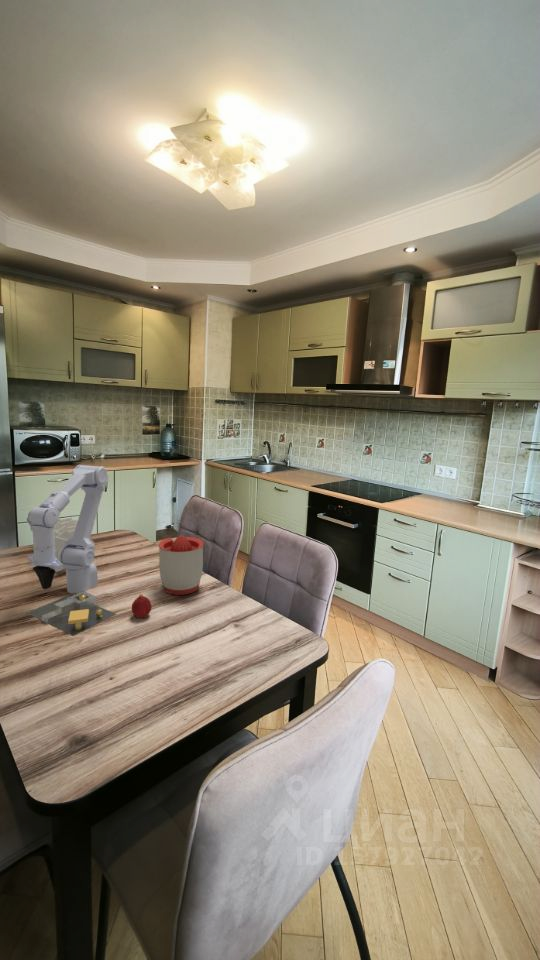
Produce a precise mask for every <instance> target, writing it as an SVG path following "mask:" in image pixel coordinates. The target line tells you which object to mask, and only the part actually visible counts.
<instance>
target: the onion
mask: <svg viewBox="0 0 540 960" xmlns="http://www.w3.org/2000/svg"><path fill="white" fill-rule="evenodd" d="M152 607H153V606H152V601H150V598H149V597H147V596H145V595H143V593H140V594H139V596H138V597H136V598H135V600H133V602H132V604H131V612H132V614H133V615H134V616H135V617H137V618H138V619H144V618H145V617H147V616H148V615H150V612H151V610H152Z"/></svg>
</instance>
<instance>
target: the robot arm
mask: <svg viewBox="0 0 540 960" xmlns="http://www.w3.org/2000/svg"><path fill="white" fill-rule="evenodd" d="M108 478H109V475H108V471H107V469H106V468H105V466H102V465H101V466H96V465H85V464H84V465H83V464H78V465H76V466H75V468H73V469H72V472H71V477H70V478H69V479H68V480H67V482H66V483H65V484H64V485H63V486H62V488H61V489H60V490H55V491H52V492H51V493H50V495H49V496H48V497H47V498H46V499H45V500H44V501H42V503H41V504H40V505H39V506H35V507H33V508H32V509H29V511H28V515H27V517H26V522H27V524H28V525H29V526H30V531H31V532H32V542H33V554H29V555H28V556H27V558H28V562H30V565H31V566H33V567H32V570H33V572H34V573H35V574H36V576H37V578H38V581H39V583H40V586H41V588H42V589H43V590H48V589H50V588H52V586H53V585H52V584H53V580H54V576H55V575H56V573H58V572H60V571H63V570H64V569H63V564H64V567H65V568H66V569H65V573H66V574H65V575H66V577H65V578H66V591H67V593H71V594H78V593H81V592H83V591H84V592H86V591H88V590H90V589H92V588H94V587H97V586H98V569H97V565H96V564H95V563H94V560H95V555H94V554H95V549H96V546H95V545H94V544H93V543H92V542H91V541H90V538H91V536H92V532H93V529H94V526H95V522H96V518H97V514H98V511H99V507H100V503H101V499H102V498H103V497H102V495H103V492H105V489H106V485H107V482H108ZM80 489H81V490H82V491H84V493H85V495H84V498H83V502H82V506H81V510H80V513H79V516H78V519H77V521H78V522H77V526H76V529H75V533H74V536H73V537H72V538H71V539H69V540H68V541H66V542H65V545H64V547H63V549H62V550H61V552H60V562H61V563H60V562H59V561H58V560H57V558H56V557H55V539H54V525H55V524H56V523H57V521H58V518H60V515H61V512H62V511H63V510H64V509H65V508H66V507H67V506H68V505H69V503H70V498H71V496H73V495H74V494H75V493H76V492H77V491H78V490H80ZM78 547H84V548H78Z"/></svg>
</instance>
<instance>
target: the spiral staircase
mask: <svg viewBox="0 0 540 960" xmlns="http://www.w3.org/2000/svg"><path fill="white" fill-rule="evenodd" d="M77 522H78V520H76V519H73V517H71V516H70V517H67V518H62V519H61V518H60V517H58V521H57V523H56V524H55V525H54V539H55V557H56V558H57V560H58V561H59V562H60V552H61V550H62V549H63V547H64V545H65V542H66V541H68V540H69V539H71V538H72V537H73V536H74V533H75V529H76V526H77ZM90 541H91V542H92V543H93V544H94V546H95V545H96V542H94V540H93V539H92V538H91V537H90ZM78 548H84V547H78ZM94 556H95V553H94ZM60 563H61V562H60ZM63 570H66V568H65V567H64V564H63Z"/></svg>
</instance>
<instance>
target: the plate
mask: <svg viewBox="0 0 540 960" xmlns="http://www.w3.org/2000/svg"><path fill="white" fill-rule="evenodd" d="M71 596H73V595H72V594H69V595H67V596H64V597H62V598H59V599H56V600H53V601H51V602H50V603H47V604H44V605H41V606H39V607H37V608H35V609H31V610H29V611H27V612H26V614H27V615H30V616H31V617H33V618H36V619H38V620H40V621H41V622H43V621H42V616H43V615H45V614H48V613H50V612H52V611H54V604H56V603H58V602H61V601H63V600H66V599H67V598H69V597H71ZM97 609H102V617H101V618H97V617H96V610H97ZM116 615H117V613H116V612H113V611H111V610H108V609H106V608H103V607H101V606H98V605H96V606H94V607H92V608H90V609H89V616H88V622H82V623H81V624H82V629H81V630H76V628H75V623H74V624H68V620H69V615H68V616H66V617H64V618H60V619H58V620H56V621H54V622H52V623H49V624H48V625H49V626H51V627H54V628H56V629H58V630H60V631H62V632H64V633H66V634H68V635H70V636H73V637H74V636H77V635H78V634H81V633H82V632H86V630H88V629H90V628H92V627H95V626H96V625H98V624H100V623H102V622H105V621H107V620H109V619H110V618H113V617H114V616H116Z"/></svg>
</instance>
